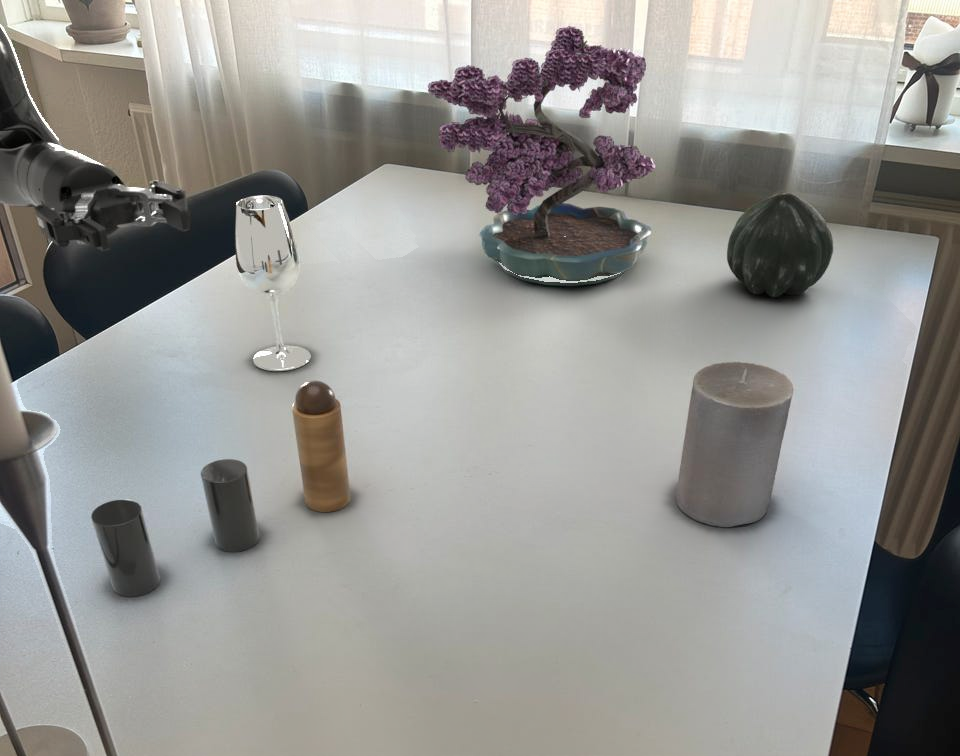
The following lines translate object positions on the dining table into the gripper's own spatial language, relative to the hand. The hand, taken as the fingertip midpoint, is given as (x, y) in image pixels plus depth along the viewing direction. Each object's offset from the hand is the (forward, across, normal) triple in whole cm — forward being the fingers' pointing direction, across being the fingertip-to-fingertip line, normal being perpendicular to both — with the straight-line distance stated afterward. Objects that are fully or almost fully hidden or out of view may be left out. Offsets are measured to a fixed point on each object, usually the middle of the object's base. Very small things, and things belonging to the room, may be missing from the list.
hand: (145, 230), depth 98 cm
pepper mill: (+18, +6, +25) cm, 31 cm away
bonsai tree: (-17, +71, +25) cm, 77 cm away
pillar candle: (+46, +37, +25) cm, 64 cm away
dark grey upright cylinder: (+18, -16, +25) cm, 35 cm away
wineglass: (-15, +21, +25) cm, 36 cm away
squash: (+13, +90, +25) cm, 94 cm away
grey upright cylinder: (+18, -5, +25) cm, 31 cm away
